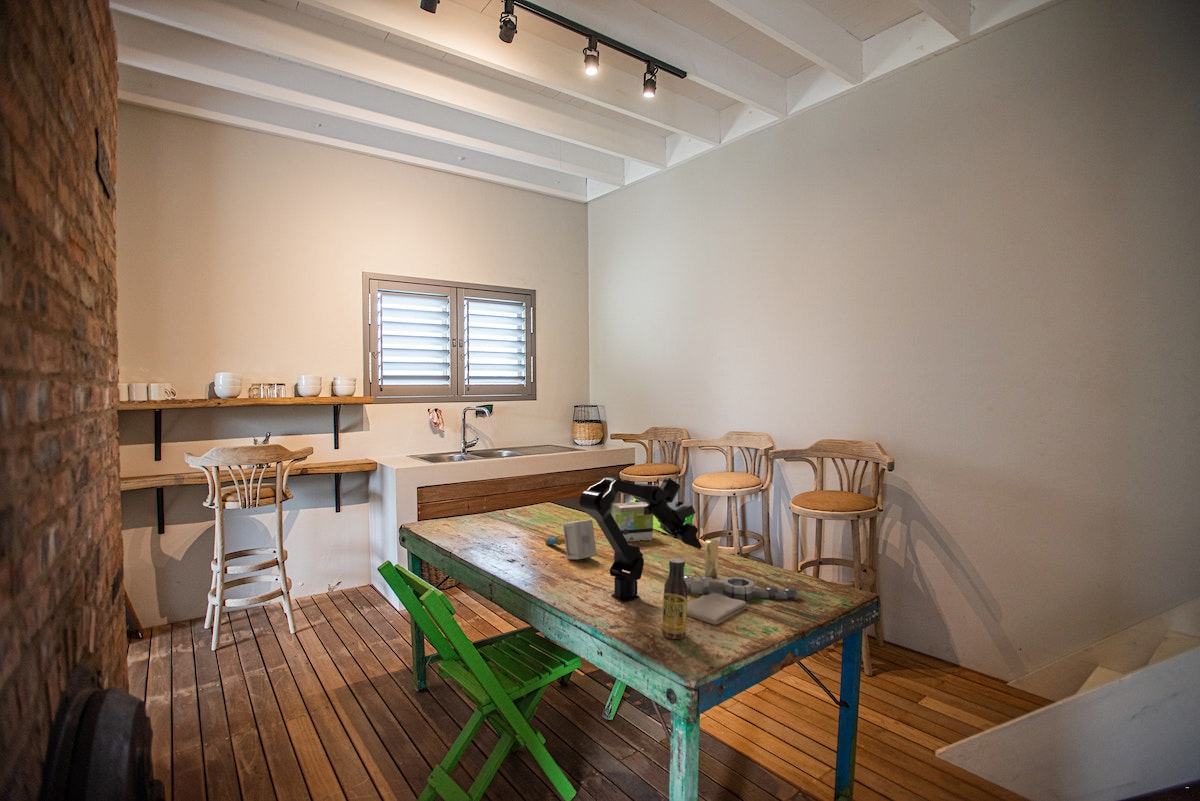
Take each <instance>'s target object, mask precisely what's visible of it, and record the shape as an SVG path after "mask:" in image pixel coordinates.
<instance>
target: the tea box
mask: <svg viewBox="0 0 1200 801" xmlns="http://www.w3.org/2000/svg"><path fill="white" fill-rule="evenodd" d="M648 504H649V503H646V502H641V501H638V502H621V503H618V502H617V503H616V502H615V503H612V510H611V512H612V513H611V515H612V516H613V518H614V520H615V522H616V523H617V525H618V527H619V528H620V530H621V532H622V534H623V535H624V537H625V539H626V540H627V542H628V541H629V542H640V540H643V541H649V540H648V539H652V540H653V537H654V536H653V534H654V515H653V514H650V515H644V507H645V506H648Z"/></svg>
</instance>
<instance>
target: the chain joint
mask: <svg viewBox="0 0 1200 801" xmlns="http://www.w3.org/2000/svg"><path fill="white" fill-rule="evenodd" d="M684 581H685V583H686V585H687V594H688V593H690V594H693V593H694V594H693V595H695V594H696V595H709V594H711V593H717V594H721V595H725V596H727V597H729V598H732V599H737V600H742V601H745V602H746V600H747V601H751V600H753V599H754V598H757V599H768V598H770V599H769V600H783V599H788V600H787V601H797V600H798V598H799V596H798V591H797V589H796V588H794V587H790V586H789V587H787V586H786V587H784V588H783V589H779V588H778V587H777V586H773V585H767V586H765V588H764V587H763V588H762V587H755V582H754V581H753V580H752V579H749V578H746V577H738V576H731V577H726V578H723V579H722V578H721V579H720V578H718V579H712V577H710V576H705V575H701V576H700V577H694V575H692V574H684Z"/></svg>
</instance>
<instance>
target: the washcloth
mask: <svg viewBox="0 0 1200 801" xmlns="http://www.w3.org/2000/svg"><path fill="white" fill-rule="evenodd" d="M746 605H747V602H746V600H745V601H742V600H737V599H732V598H729V597H727V596H725V595H721V594H717V593H711V594H709V595H704V594H701V595H700V596H699V597H698V598H695V599H693V600H692V601H690V602H687V615H686V617H689V618H692V619H693V618H694V619H696V620H699V621H701V622H705V623H708V624H711V625H714V626H716V625H718V624H720V623H722V622H724V621H726V620H728V619H729V618H731V617H733V616H735V615H736V614H738V613H740V612H742V611H744V610H746V609H747V606H746Z"/></svg>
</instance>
